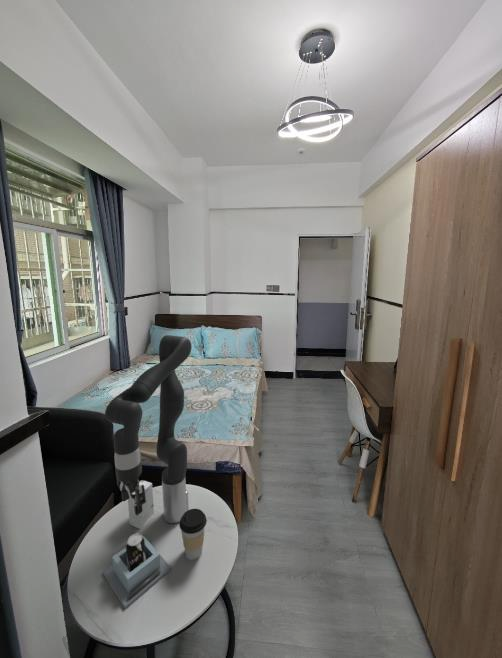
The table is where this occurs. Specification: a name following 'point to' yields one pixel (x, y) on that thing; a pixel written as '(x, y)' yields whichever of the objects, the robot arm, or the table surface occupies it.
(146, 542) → the hollow square can holder
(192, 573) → the table surface
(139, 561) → the beverage can
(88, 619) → the table surface
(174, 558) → the table surface
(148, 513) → the skincare box
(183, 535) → the coffee cup
